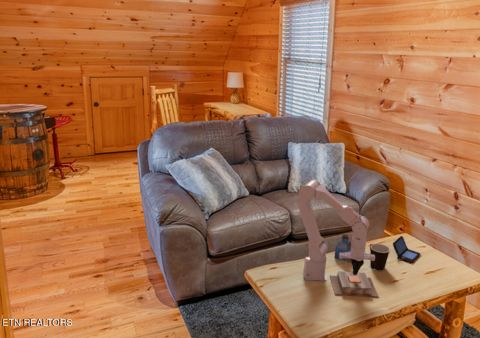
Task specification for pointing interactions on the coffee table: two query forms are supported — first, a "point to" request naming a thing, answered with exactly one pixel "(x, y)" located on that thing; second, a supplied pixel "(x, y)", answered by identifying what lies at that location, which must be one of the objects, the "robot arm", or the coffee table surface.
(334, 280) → the button board
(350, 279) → the button
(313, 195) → the robot arm
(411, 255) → the handheld game console
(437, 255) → the coffee table surface
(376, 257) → the coffee mug
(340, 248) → the perfume bottle
